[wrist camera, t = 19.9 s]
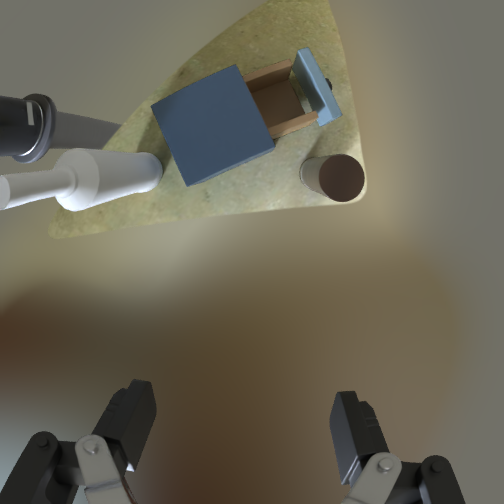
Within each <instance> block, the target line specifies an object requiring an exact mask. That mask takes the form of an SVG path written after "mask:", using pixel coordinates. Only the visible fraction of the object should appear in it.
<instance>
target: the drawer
mask: <svg viewBox="0 0 504 504" xmlns="http://www.w3.org/2000/svg"><path fill="white" fill-rule="evenodd" d="M292 65H293V64H292V62H291V60H290V59H287V60H284V61H281V62H278V63H275V64H273V65H270V66H267V67H265V68H262V69H259V70H257V71H254V72H252V73H249V74H247V75H244V76H242V78H243V79H244V81H245V83H246V85H247V87H248V89H249V91H250V93H251V96H252V98H253V100H254V102H255V104H256V106H257V108H258V110H259V112H260V114H261V116H262V118H263V120H264V123H265V125H266V127H267V129H268V131H269V133H270V135H271V138H272V140H274V139H276V138H279V137H281V136H284V135H286V134H289V133H291V132H294V131H296V130H299V129H301V128H304V127H307V126H309V125H310V124H311V123H313V122H314V121H315V120H316V119H317V121H318V123H319V125H320V126H323V125H326V124H329V123H330V122H332V121H334V120H335V119H337V118H339V117H340V116H342V113H341V111H340V108H339V106H338V104H337V102H336V100H335V98H334V96H333V94H332V85H331V82H330V81H329V79H327V78H325V77H324V75H323V73H322V72H321V70H320V68H319V66H318V64H317V62H316V60H315V58H314V57H313V55H312V53H311V51H310V49H309V48H308V47H306V48H303V49H300V50H298V52H297V55H296V58H295V61H294V65H293V68H292ZM291 68H292V70H293V72H294V74H295V76H296V78H297V80H298V81H299V83H300V85H301V87H302V89H303V91H304V93H305V96H306V98H307V100H308V102H309V104H310V106H311V108H312V110H313V112H310V113H307V114H305V112H304V110H303V108H302V106H301V104H300V101H299V99H298V97H297V95H296V93H295V91H294V89H293V87H292V85H291V83H290V81H289V79H288V78H289V75H290V72H291Z"/></svg>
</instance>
